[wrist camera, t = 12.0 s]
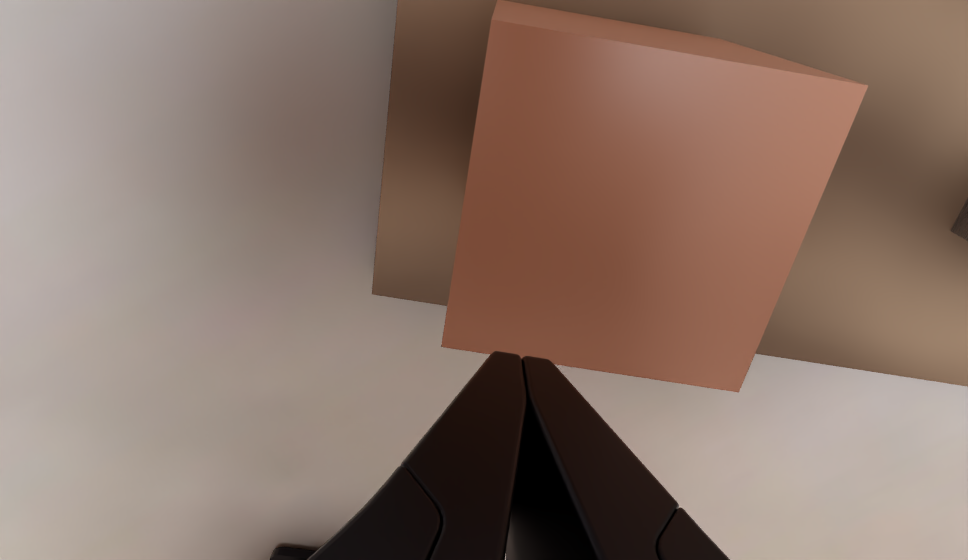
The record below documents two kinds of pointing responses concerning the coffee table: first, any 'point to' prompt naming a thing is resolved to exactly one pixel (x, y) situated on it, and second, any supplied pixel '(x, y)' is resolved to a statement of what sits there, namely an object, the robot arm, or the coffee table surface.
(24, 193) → the coffee table surface
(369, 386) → the coffee table surface
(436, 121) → the board
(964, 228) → the steel post
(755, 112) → the salmon orange block
